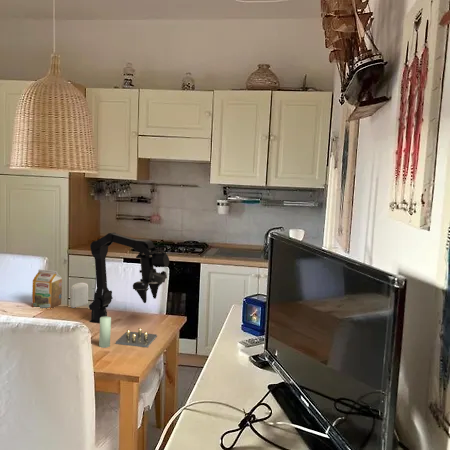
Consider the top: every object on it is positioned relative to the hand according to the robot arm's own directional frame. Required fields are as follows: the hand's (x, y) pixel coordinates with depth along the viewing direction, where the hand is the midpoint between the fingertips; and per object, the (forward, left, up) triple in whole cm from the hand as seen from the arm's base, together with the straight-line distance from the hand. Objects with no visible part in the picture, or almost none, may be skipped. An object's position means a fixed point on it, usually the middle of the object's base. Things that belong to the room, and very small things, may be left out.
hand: (150, 300), depth 220 cm
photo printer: (-47, +27, -15) cm, 56 cm away
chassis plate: (-1, -14, -14) cm, 20 cm away
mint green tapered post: (-12, -24, -14) cm, 30 cm away
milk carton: (-62, +21, -15) cm, 67 cm away
